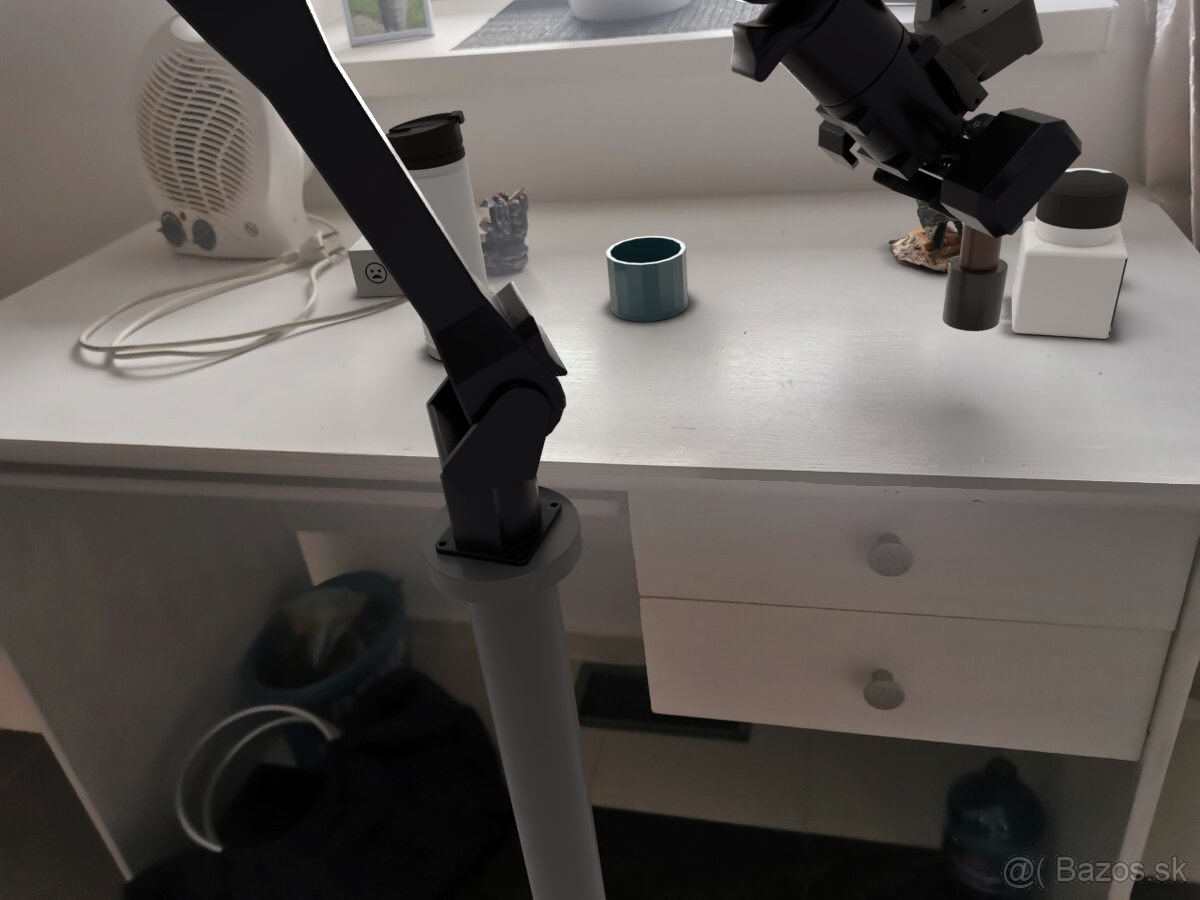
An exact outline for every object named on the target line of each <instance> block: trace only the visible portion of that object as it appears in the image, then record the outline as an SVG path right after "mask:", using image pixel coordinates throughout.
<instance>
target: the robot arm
mask: <svg viewBox="0 0 1200 900" xmlns="http://www.w3.org/2000/svg"><path fill="white" fill-rule="evenodd" d="M165 1H166V2H167V3H168V4H169V5H170V7H172V8H173V10H175V12H176V13H177V14H178V15H179V16H180V17H181V18H182V19H183V20H185V22H186V23H187V24H188V25H189V26H190V27H191V28H192V29H193V30H194V31H195V32H196V34H197V35H198V36H200V37H201V39H202V40H203V41H204V42H205V43H206V44H207V45H208V46H210V48H212V49H213V50H214V51H215V52H216V53H217V54H218V55H219V56H220V57H222V58H223V59H224V60H225V61H226V62H227V63H228V64H229V65H230V66H232V68H234V69H235V70H236V71H237V72H238V73H239V74H240V75H242V76H243V77H244V78H245V79H246V80H247V81H249V82H250V83H251V84H252V85H253V86H254V87H255V88H256V89H257V90H258V91H259V92H260V93H261V94H262V95H263V96H264V97H265V98H266V99H267V100H268V101H269V103H270V104H271V106H272V107H273V109H274V110H275V111H276V113H277V114H278V116H279V118H280V119H281V120H282V121H283V123H284V125H285V126H286V127H287V129H288V130H289V131H290V133H291V134H292V136H293V137H294V139H295V140H296V142H297V143H298V145H299V146H300V147H301V149H302V151H303V152H304V153H305V155H306V156H307V157H308V159H309V161H310V162H311V164H313V166H314V167H315V169H316V170H317V172H318V173H319V175H320V176H321V178H322V179H323V180H324V181H325V183H326V185H327V187H329V189H330V190H331V192H332V194H333V195H334V196H335V197H336V199H337V200H338V202H339V203H340V205H341V206H342V207H343V209H344V210H345V211H346V213H347V214H348V216H349V218H350V219H351V220H352V221H353V223H354V224H355V226H356V228H357V229H358V230H359V232H360V233H361V235H362V236H364V237H365V239H366V240H367V242H368V243H369V245H370V246H371V247H372V249H373V250H374V252H375V253H376V255H377V256H378V257H379V259H380V260H381V262H382V263H383V265H384V266H385V267H386V269H387V270H388V272H389V273H390V275H391V276H392V277H393V279H394V280H395V282H396V283H397V285H398V286H399V287H400V289H401V290H402V292H403V293H404V295H403V296H405V298H406V299H407V300H408V302H409V303H410V305H411V306H412V308H413V309H414V311H415V312H416V313H417V314H418V316H419V317H420V319H422V320H423V322H424V323H425V325H426V326H427V328H428V330H429V332H430V335H431V337H432V339H433V342H434V344H435V346H436V349H437V351H438V354H439V356H440V358H441V360H440V361H441V363H442V365H443V368H444V370H445V372H446V376H445V378H444V379H443V380H442V382H441V383H440V384H439V385H438V387H437V389H436V390H435V391H434V392H433V394H432V395H431V397H429V399H428V400H427V401H426V403H425V407H426V411H427V415H428V420H429V423H430V427H431V432H432V436H433V440H434V444H435V447H436V451H437V455H438V460H439V464H440V468H441V473H440V474H439V480H440V483H441V487H442V492H443V497H444V500H445V505H447V510H448V514H449V519H450V523H451V524H450V525H449V527H448V528H447V529H446V530H445V532H444V533H443V534H442V536H441V537H440V538H439V540H438V541H437V542H436V544H435V548H436V552H437V553H439V554H444V555H450V556H456V557H463V558H469V559H475V560H481V561H487V562H493V563H499V564H505V565H511V566H517V567H523V566H526V565H527V564H528V563H529V562H530V561H531V559H532V557H533V556H534V554H535V553H536V551H537V549H538V548H539V546H540V545H541V543H542V541H543V540H544V538H545V537H546V535H547V533H548V532H549V530H550V528H551V527H552V525H553V524H554V522H555V520H556V519H557V517H558V516H559V514H560V512H561V511H562V506H561V503H560V502H559V501H554V500H546V499H540V497H539V488H538V486H539V482H538V477H537V475H538V470H539V467H540V463H541V459H542V455H543V451H544V447H545V443H546V439H547V437H548V436H549V435H551V434H552V433H553V432H554V430H555V429H556V428H557V427H558V425H559V423H560V422H561V419H562V416H563V413H564V411H565V409H566V408H567V396H566V393H565V390H564V388H563V385H562V383H561V381H560V379H559V378H558V377H566V376H568V374H569V372H568V370H567V368H566V366H565V364H564V362H563V361H562V359H561V357H560V356H559V353H558V352H557V350H556V349H555V347H554V345H553V343H552V342H551V339H550V338H549V337H548V334H547V333H546V331H545V329H544V328H543V327H542V325H540V324H538V323H537V321H536V319H535V317H534V315H533V314H532V313H533V312H532V311H531V310H530V309H529V307H528V305H527V303H526V300H525V299H524V297H523V296H522V294H521V292H520V290H519V289H518V287H517V285H516V283H515V282H514V281H513V280H512V281H510V282H508V283H507V284H506V285H505V286H503V287H502V288H501V289H500V290H499V291H498V292H497V293H494V292H493V291H492V289H491V288H488V287H489V286H488V287H487V286H486V285H485V284H483V283H482V282H481V281H480V280H479V279H478V278H477V277H476V276H475V275H474V274H473V272H472V271H471V270H470V268H469V267H468V265H467V263H466V262H465V260H464V259H463V257H462V255H461V254H460V252H459V251H458V249H457V248H456V246H455V244H454V243H453V241H452V240H451V238H450V237H449V235H448V233H447V232H446V230H445V229H444V227H443V226H442V224H441V222H440V221H439V219H438V218H437V216H436V215H435V213H434V211H433V210H432V208H431V207H430V205H429V204H428V202H427V200H426V199H425V197H424V196H423V194H422V193H421V191H420V189H419V188H418V186H417V185H416V183H415V182H414V180H413V178H412V177H411V175H410V174H409V172H408V171H407V169H406V167H405V166H404V164H403V163H402V161H401V159H400V158H399V156H398V155H397V153H396V152H395V150H394V148H393V147H392V145H391V144H390V142H389V141H388V139H387V137H386V136H385V135H386V134H385V133H384V131H383V130H382V128H381V126H380V124H378V122H377V120H376V118H375V117H374V115H373V114H372V112H371V111H370V109H369V107H368V106H367V105H366V103H365V101H364V100H363V98H362V96H361V95H360V94H359V92H358V90H357V89H356V87H355V85H354V84H353V83H352V80H351V79H350V78H349V76H348V75H347V73H346V71H345V70H344V68H343V67H342V65H341V64H340V61H339V60H338V59H337V57H336V56H335V54H334V52H333V51H332V49H331V47H330V45H329V43H328V40H327V38H326V36H325V33H324V31H323V28H322V26H321V23H320V21H319V19H318V16H317V14H316V12H315V9H314V7H313V4H312V2H311V0H165ZM736 1H737V2H741V3H747V4H750V5H763V6H764V7H763V9H762V10H760V13H759V14H758V15H757V16H756V17H755V18H754V19H752V20H749V21H744V22H741V21H736V22H734V23H733V24H732V26H731V32H732V37H733V45H732V52H731V59H730V60H731V61H730V70H731V72H732V73H734V74H737V75H738V76H741V77H744V78H747V79H749V80H751V81H755V82H757V83H763V82H765V81H767V79H768V78H769V77H770V76H771V74H772V73H773V71H774V70H775V69H776V68H777V66H778V65H779V64H780V65H781V66H782V67H783V68H784V69H785V70H786V71H787V72H788V73H789V74H790V75H791V76H792V77H793V78H794V80H795V81H797V82H798V83H799V84H800V85H801V86H802V87H803V89H805V90H806V91H807V92H808V94H810V95H811V97H812V98H813V99H814V100H815V101H816V102H818V105H817V106H816V107H815V109H814V111H816V113H818V115H819V116H820V117H821V118H822V119H823V120H822V121H821V122H820V124H819V125H818V135H817V136H818V139H817V140H818V141H817V146H818V147H819V148H820V149H821V150H822V151H823V152H824V153H825V154H826V155H827V157H829V158H830V159H831V160H832V161H833V162H835V163H837V164H838V165H840V166H843V167H844V168H847V169H849V170H851V171H854V170H855V169H856V168H857V166H858V165H859V164H860V162H859V157H857V156H856V155H855V154H853V152H852V151H851V149H852V148H853V147H854V145H856V143H857V144H858V145H859V146H860V147H859V148H858V149H857V150H856V154H858V155H859V156H860V157H861V158H862V159H863V160H864V162H866V163H868V164H870V165H872V166H875V167H876V169H875V170H874V171H873V172H872V175H871V179H872V181H873V182H874V183H876V184H878V185H880V186H883V187H885V188H886V189H889V190H891V191H893V192H895V193H898V194H900V195H904V196H906V197H908V198H912V199H914V200H916V199H917V200H920V201H923V202H926V203H929V204H928V205H927V207H928V208H930V209H932V210H934V211H936V212H938V213H940V214H942V215H944V216H946V217H948V218H950V219H953V220H956V221H962V224H963V225H964V224H966V225H968V226H970V227H972V228H974V229H976V230H978V231H980V232H982V233H984V234H986V235H988V236H990V237H992V238H995V239H996V238H999V237H1001V236H1003V237H1004V236H1007V235H1008V236H1013V235H1015V233H1017V231H1018V230H1019V229H1020V228H1021V227H1022V226H1023V225H1024V218H1025V217H1026V216H1027V215H1028V214H1029V213H1030V211H1032V209H1033V208H1034V207H1035V206H1037V204H1038V201H1039V200H1040V199H1041V198H1042V197H1043V196H1044V194H1045V193H1046V192H1047V191H1048V190H1049V189H1050V188H1051V187H1052V186H1053V184H1054V183H1055V182H1056V181H1057V180H1058V179H1059V178H1060V177H1061V176H1062V174H1063V173H1064V172H1065V171H1066V170H1067V169H1070V167H1071V166H1072V165H1073V164H1074V162H1075V161H1076V160H1077V159H1078V158H1079V157H1080V156H1081V154H1082V149H1083V145H1082V143H1083V141H1082V140H1081V139H1080V138H1079V136H1078V135H1077V133H1076V132H1075V131H1074V130H1073V129H1072V127H1071V126H1070V125H1069V123H1068V122H1067V121H1066V119H1063V118H1061V117H1056V116H1053V115H1049V114H1047V113H1046V114H1045V113H1042V112H1039V111H1034V110H1031V109H1028V108H1024V107H1017V108H1010V109H1006V110H1001V111H999V112H998V113H997V114H996V115H993V114H991V113H988V112H981V113H978V114H976V115H974V116H973V117H972V118H970V119H966V118H965V116H966V114H967V113H968V112H970V113H974V112H975V111H976V110H977V109H978V108H979V107H980V106H981V105H982V103H983V102H984V101H985V99H987V97H988V96H989V95H990V93H989V92H988V91H987V90H986V89H985V87H984V86H983V85H982V84H981V83H983V82H985V81H987V80H990V79H991V78H993V77H995V75H997V74H998V73H1000V72H1001V71H1004V69H1006V68H1007V67H1009V66H1010V65H1012V64H1013V63H1015V62H1016V61H1018V60H1020V59H1021V58H1022V57H1024V56H1031V55H1032V54H1034V53H1035V52H1037V51H1038V50H1039V49H1040V48H1041V47H1042V46H1043V44H1044V39H1043V34H1042V30H1041V26H1040V21H1039V16H1038V12H1037V8H1036V3H1035V0H915V7H914V15H913V23H912V25H913V29H914V32H911V31H909V30H908V29H907V28H906V27H905V25H904V24H903V23H902V22H901V21H900V19H898V17H897V16H896V15H895V13H893V11H891V9H890V7H888V5H887V4H886V3H885V2H884V0H736ZM422 320H421V321H422Z"/></svg>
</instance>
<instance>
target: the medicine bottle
mask: <svg viewBox="0 0 1200 900" xmlns="http://www.w3.org/2000/svg"><path fill="white" fill-rule="evenodd" d="M1129 187H1130V186H1129V183H1128V182H1127V180H1126V179H1125V177H1123V176H1121V175H1119V174H1116V173H1114V172H1112V171H1109V170H1105V169H1100V168H1091V167H1075V168H1074V167H1073V168H1068V169H1067V170H1066V171H1065V172H1064V173H1063V174H1062V176H1061V177H1060V178H1059V179H1058V180H1057V181H1056V182H1055V183H1054V184H1053V186H1052V187H1051V188H1050V189H1049V190H1048V191H1047V192H1046V193H1045V194H1044V196H1043V197H1042V198H1041V199H1040V200H1039V201H1038V202H1037V204H1036V210H1035V217H1034V221H1032V220H1027V221H1025V222H1023V224H1022V231H1021V238H1020V243H1019V250H1018V256H1017V261H1016V268H1015V274H1014V280H1013V286H1012V292H1011V331H1012V332H1013V333H1014V334H1026V335H1043V336H1056V337H1071V338H1072V337H1073V338H1087V339H1100V340H1101V339H1102V340H1105V339H1108V338H1109V337H1110V336H1111V332H1112V329H1113V324H1114V319H1115V316H1116V311H1117V306H1118V302H1119V298H1120V294H1121V290H1122V285H1123V281H1124V277H1125V272H1126V269H1127V264H1128V259H1129V254H1128V250H1127V247H1126V244H1125V240H1124V237H1123V233H1122V230H1121V223H1122V219H1123V215H1124V211H1125V210H1124V206H1125V203H1126V200H1127V196H1128V193H1129V192H1128V191H1129ZM1123 210H1124V211H1123Z"/></svg>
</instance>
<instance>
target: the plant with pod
mask: <svg viewBox="0 0 1200 900" xmlns="http://www.w3.org/2000/svg"><path fill="white" fill-rule="evenodd" d="M915 201H916V205H917V210H916V214H917V217H918V219H919V224H920V226H921V227H920V228H919V227H918V228H916V229H915V230H912V231H910V232H909V235H907V236H904V237H900V238H897V239H891V240H889V241H888V242H887V244H889V247H890V248H891V250H892V252H893V254H894V255H893V256H897V257H896V258H895V259H896V260H898V261H906V262H908V263H912V264H915V265H920V266H924V267H926V268H928V269H931V270H933V271H939V272H944V273H945V272H946V273H948V268H949V263H950V261H951V260H952V259H954V258H956V257H959V256H960V250H961V243H962V235H963V227H964V223H963V222H962V221H956V220H953V219H950V218H948V217H946V216H944V215H942V214H940V213H938V212H936V211H934V210H932V209H930V208H928V207H927V205H928V204H929V203H926V202H923V201H920V200H917V199H915ZM949 222H952V224H953V225H954V228H953V227H951V226H950V225H949ZM955 228H956V230H955Z"/></svg>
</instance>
